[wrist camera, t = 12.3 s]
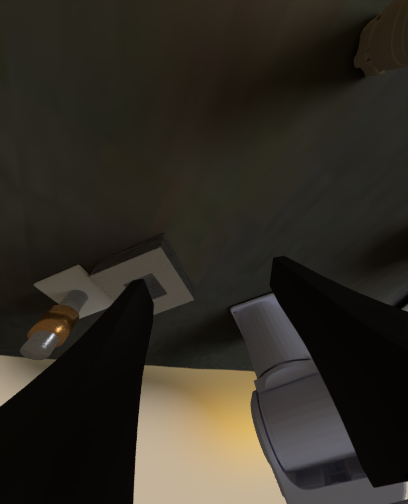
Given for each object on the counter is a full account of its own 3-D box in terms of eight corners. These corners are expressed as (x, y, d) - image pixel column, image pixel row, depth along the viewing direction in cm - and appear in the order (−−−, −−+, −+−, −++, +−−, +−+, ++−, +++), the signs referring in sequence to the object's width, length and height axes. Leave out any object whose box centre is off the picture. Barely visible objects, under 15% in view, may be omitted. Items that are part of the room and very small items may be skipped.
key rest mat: (117, 302, 23) (116, 304, 22) (80, 316, 23) (78, 318, 23) (78, 264, 19) (76, 266, 19) (35, 282, 20) (33, 285, 19)
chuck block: (192, 282, 22) (194, 299, 20) (140, 302, 23) (135, 321, 21) (163, 233, 18) (160, 246, 16) (100, 259, 19) (88, 276, 17)
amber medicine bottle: (93, 290, 21) (55, 345, 15) (89, 307, 22) (53, 364, 16) (65, 284, 20) (13, 339, 14) (63, 301, 21) (15, 359, 15)
